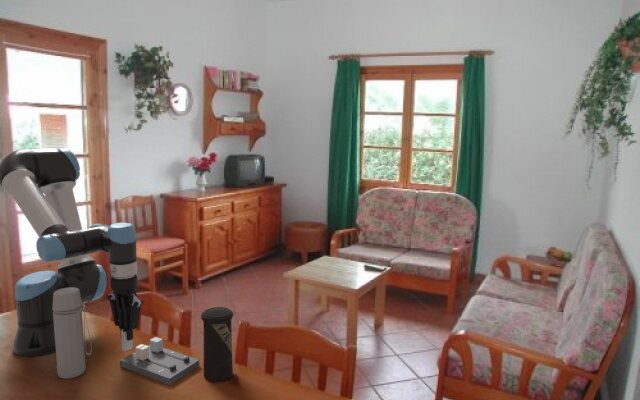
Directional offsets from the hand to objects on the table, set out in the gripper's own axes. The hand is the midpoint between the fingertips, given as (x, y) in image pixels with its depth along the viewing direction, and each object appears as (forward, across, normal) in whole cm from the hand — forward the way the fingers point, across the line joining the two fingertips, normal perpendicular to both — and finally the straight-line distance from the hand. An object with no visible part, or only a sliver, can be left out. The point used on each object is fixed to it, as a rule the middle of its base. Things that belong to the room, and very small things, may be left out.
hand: (127, 348), depth 146 cm
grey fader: (+1, +6, +6) cm, 9 cm away
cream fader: (+1, +6, 0) cm, 7 cm away
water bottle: (+4, -7, -13) cm, 15 cm away
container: (+4, +29, +7) cm, 30 cm away
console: (+4, +11, +2) cm, 12 cm away
